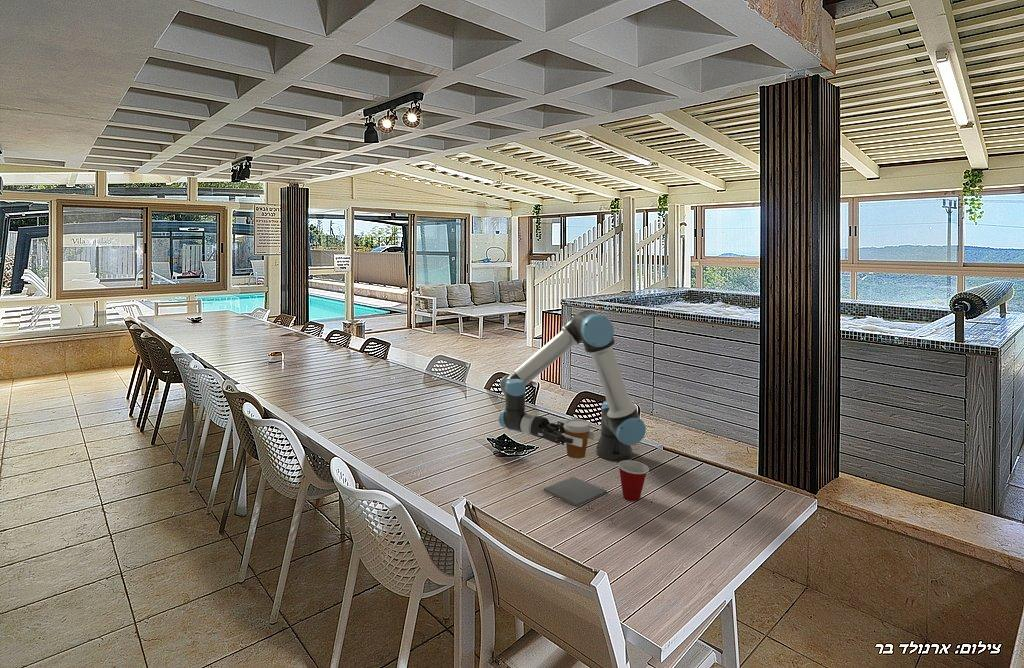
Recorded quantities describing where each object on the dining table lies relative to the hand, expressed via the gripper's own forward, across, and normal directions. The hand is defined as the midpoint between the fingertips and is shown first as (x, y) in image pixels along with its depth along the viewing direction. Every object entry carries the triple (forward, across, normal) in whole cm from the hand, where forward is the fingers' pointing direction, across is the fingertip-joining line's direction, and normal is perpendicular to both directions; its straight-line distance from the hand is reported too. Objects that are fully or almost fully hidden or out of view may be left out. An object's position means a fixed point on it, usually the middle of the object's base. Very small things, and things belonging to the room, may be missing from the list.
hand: (588, 439), depth 198 cm
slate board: (-5, 0, -21) cm, 22 cm away
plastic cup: (+13, -9, -21) cm, 27 cm away
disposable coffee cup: (-5, 0, -7) cm, 9 cm away
